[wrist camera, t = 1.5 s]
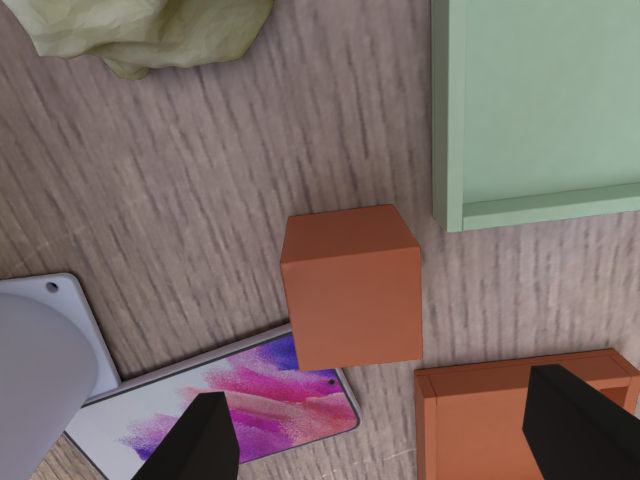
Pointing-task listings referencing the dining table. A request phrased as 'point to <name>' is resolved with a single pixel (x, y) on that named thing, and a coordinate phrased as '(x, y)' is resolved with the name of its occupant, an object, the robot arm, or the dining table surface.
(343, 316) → the terracotta block
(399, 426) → the dining table surface
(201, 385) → the smartphone
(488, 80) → the sage tray
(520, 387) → the terracotta tray
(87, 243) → the dining table surface
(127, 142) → the dining table surface
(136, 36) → the fruit
